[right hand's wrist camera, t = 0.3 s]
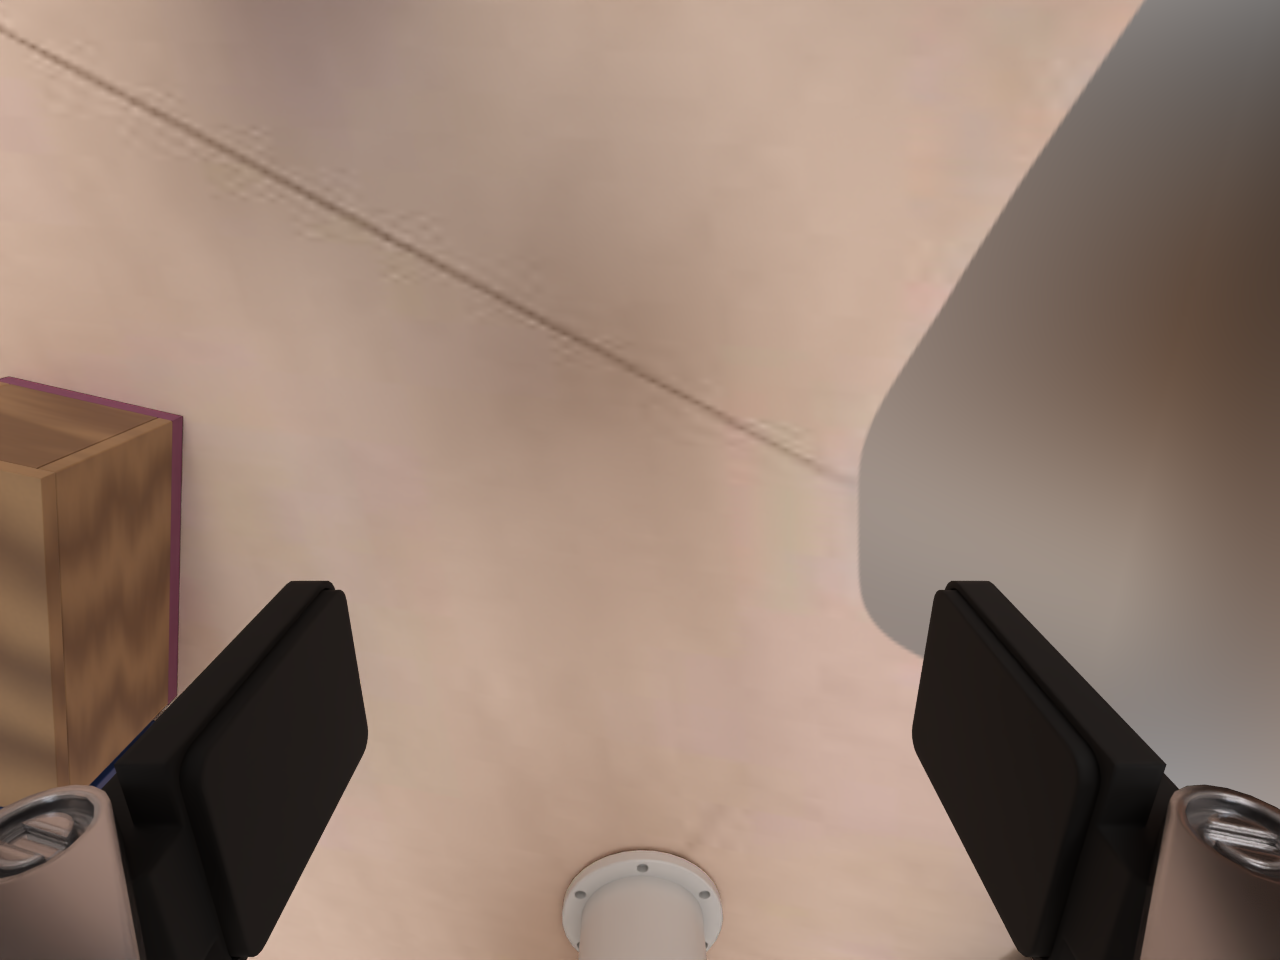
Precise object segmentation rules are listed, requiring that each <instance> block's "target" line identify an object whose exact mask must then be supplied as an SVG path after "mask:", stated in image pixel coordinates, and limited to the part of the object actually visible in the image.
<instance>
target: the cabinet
mask: <svg viewBox="0 0 1280 960" xmlns="http://www.w3.org/2000/svg"><path fill="white" fill-rule="evenodd" d="M182 426H183V416H179V415H175V414H170V413H166V412H162V411H157V410H153V409H149V408H144V407H140V406H135V405H131V404H127V403H122V402H118V401H113V400H109V399H105V398H100V397H96V396H92V395H87V394H83V393H78V392H74V391H70V390H65V389H61V388H57V387H52V386H48V385H43V384H39V383H35V382H30V381H26V380H22V379H17V378H13V377H5V378H1V379H0V806H1V807H5V806H8V805H10V804H12V803H14V802H16V801H18V800H21V799H23V798H25V797H27V796H29V795H33V794H36V793H39V792H42V791H45V790H49V789H52V788H57V787H63V786H70V785H87V786H89V785H90V784H91V783H92V782H93V781H94V780H95V779H96V778H97V777H98V776H99V775H100V774H101V773H102V772H103V770H104V769H105V768H106V767H107V766H108V765H109V764H110V763H111V762H112V761H113V760H114V759H115V758H116V757H117V756H118V755H119V754H120V753H121V752H122V751H123V750H124V749H125V748H126V747H127V746H128V745H129V744H130V743H131V742H132V740H133V739H134V738H135V737H136V736H137V735H138V734H139V733H140V732H141V731H142V730H143V729H144V728H145V727H146V726H147V725H148V724H149V723H150V722H151V721H152V720H153V719H154V718H155V717H156V716H157V715H158V714H159V713H160V712H161V710H162V709H163V708H164V707H165V706H166V705H168V704H169V703H170V702H171V701H172V700H173V699H174V698H175V697H176V696H177V663H178V615H179V568H180V521H181V474H182Z"/></svg>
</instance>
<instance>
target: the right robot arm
mask: <svg viewBox="0 0 1280 960" xmlns="http://www.w3.org/2000/svg"><path fill="white" fill-rule="evenodd" d="M367 739H368V726H367V720H366V714H365V708H364V702H363V696H362V690H361V684H360V678H359V672H358V666H357V660H356V654H355V648H354V642H353V636H352V630H351V624H350V618H349V612H348V606H347V600H346V596H345V594H344V592H343V591H341V590H335V588H334V586H333V584H332V583H331V582H329V581H291V582H289V583H288V584H286V585H285V586H284V588H283V589H282V590H281V591H280V592H279V593H278V594H277V595H276V596H275V597H274V598H273V599H272V600H271V601H270V602H269V603H268V604H267V605H266V606H265V607H264V608H263V609H262V610H261V611H260V613H259V614H258V615H257V616H256V617H255V618H254V619H253V620H252V621H251V622H250V623H249V624H248V625H247V626H246V627H245V628H244V629H243V630H242V631H241V632H240V633H239V634H238V635H237V636H236V638H235V639H234V640H233V641H232V642H231V643H230V644H229V645H228V646H227V647H226V648H225V649H224V650H223V651H222V652H221V653H220V654H219V655H218V656H217V657H216V658H215V659H214V660H213V661H212V663H211V664H210V665H209V666H208V667H207V668H206V669H205V670H204V671H203V672H202V673H201V674H200V675H199V676H198V677H197V678H196V679H195V680H194V681H193V682H192V683H191V684H190V685H189V686H188V688H187V689H186V690H185V691H184V692H183V693H182V694H181V695H180V696H179V697H178V698H177V699H176V700H175V701H174V702H173V703H172V704H171V705H170V706H169V707H168V708H167V709H166V710H165V711H164V713H163V714H162V715H161V716H160V717H159V718H158V719H157V720H156V721H155V722H154V723H153V724H152V725H151V726H150V727H149V728H148V729H147V730H146V731H145V732H144V733H143V734H142V735H141V736H140V738H139V739H138V740H137V741H136V742H135V743H134V744H133V745H132V746H131V747H130V748H129V749H128V750H127V751H126V752H125V753H124V754H123V755H122V756H121V757H120V758H119V759H118V760H117V762H116V763H115V764H114V767H115V770H116V774H115V775H114V776H113V777H112V778H111V779H110V780H109V781H108V782H107V783H106V784H105V785H104V787H103V788H102V789H99V788H96V787H94V786H87V785H70V786H63V787H57V788H52V789H49V790H45V791H42V792H39V793H36V794H33V795H29V796H27V797H25V798H23V799H21V800H18V801H16V802H14V803H12V804H10V805H8V806H5V807H3V808H2V809H0V960H247V958H248V957H254V956H257V955H258V954H259V953H260V952H261V951H262V949H263V948H264V946H265V944H266V942H267V940H268V938H269V937H270V935H271V933H272V931H273V929H274V927H275V925H276V923H277V921H278V919H279V917H280V915H281V913H282V911H283V909H284V907H285V905H286V903H287V902H288V900H289V898H290V896H291V894H292V892H293V890H294V888H295V886H296V884H297V882H298V880H299V878H300V876H301V874H302V872H303V870H304V868H305V867H306V865H307V863H308V861H309V859H310V857H311V855H312V853H313V851H314V849H315V847H316V845H317V843H318V841H319V839H320V837H321V835H322V833H323V832H324V830H325V828H326V826H327V824H328V822H329V820H330V818H331V816H332V814H333V812H334V810H335V808H336V806H337V804H338V802H339V800H340V798H341V797H342V795H343V793H344V791H345V789H346V787H347V785H348V783H349V781H350V779H351V777H352V775H353V773H354V771H355V769H356V767H357V765H358V763H359V762H360V760H361V758H362V756H363V754H364V751H365V749H366V745H367ZM912 739H913V745H914V749H915V751H916V754H917V756H918V758H919V760H920V762H921V763H922V765H923V767H924V769H925V771H926V773H927V775H928V777H929V779H930V781H931V783H932V785H933V787H934V789H935V791H936V793H937V795H938V797H939V798H940V800H941V802H942V804H943V806H944V808H945V810H946V812H947V814H948V816H949V818H950V820H951V822H952V824H953V826H954V828H955V830H956V832H957V833H958V835H959V837H960V839H961V841H962V843H963V845H964V847H965V849H966V851H967V853H968V855H969V857H970V859H971V861H972V863H973V865H974V867H975V868H976V870H977V872H978V874H979V876H980V878H981V880H982V882H983V884H984V886H985V888H986V890H987V892H988V894H989V896H990V898H991V900H992V902H993V903H994V905H995V907H996V909H997V911H998V913H999V915H1000V917H1001V919H1002V921H1003V923H1004V925H1005V927H1006V929H1007V931H1008V933H1009V935H1010V937H1011V938H1012V940H1013V942H1014V944H1015V946H1016V948H1017V949H1018V951H1019V952H1020V953H1021V954H1022V955H1023V956H1026V957H1032V958H1033V960H1280V809H1278V808H1277V807H1275V806H1272V805H1270V804H1268V803H1266V802H1264V801H1262V800H1259V799H1257V798H1255V797H1253V796H1251V795H1247V794H1244V793H1241V792H1238V791H1235V790H1231V789H1228V788H1223V787H1217V786H1210V785H1193V786H1186V787H1184V788H1181V789H1178V788H1177V787H1176V785H1175V784H1174V783H1173V782H1172V781H1171V780H1170V779H1169V778H1168V777H1167V776H1166V775H1165V774H1164V770H1165V767H1166V764H1165V763H1164V762H1163V760H1162V759H1161V758H1160V757H1159V756H1158V755H1157V754H1156V753H1155V752H1154V751H1153V750H1152V749H1151V748H1150V747H1149V746H1148V745H1147V744H1146V743H1145V742H1144V741H1143V740H1142V739H1141V738H1140V737H1139V736H1138V734H1137V733H1136V732H1135V731H1134V730H1133V729H1132V728H1131V727H1130V726H1129V725H1128V724H1127V723H1126V722H1125V721H1124V720H1123V719H1122V718H1121V717H1120V716H1119V715H1118V714H1117V713H1116V711H1114V709H1113V708H1112V707H1111V706H1110V705H1109V704H1108V703H1107V702H1106V701H1105V700H1104V699H1103V698H1102V697H1101V696H1100V695H1099V694H1098V693H1097V692H1096V691H1095V690H1094V689H1093V688H1092V686H1090V684H1089V683H1088V682H1087V681H1086V680H1085V679H1084V678H1083V677H1082V676H1081V675H1080V674H1079V673H1078V672H1077V671H1076V670H1075V669H1074V668H1073V667H1072V666H1071V665H1070V664H1069V663H1068V662H1067V660H1066V659H1065V658H1064V657H1063V656H1062V655H1061V654H1060V653H1059V652H1058V651H1057V650H1056V649H1055V648H1054V647H1053V646H1052V645H1051V644H1050V643H1049V642H1048V641H1047V640H1046V639H1045V638H1044V636H1043V635H1042V634H1041V633H1040V632H1039V631H1038V630H1037V629H1036V628H1035V627H1034V626H1033V625H1032V624H1031V623H1030V622H1029V621H1028V620H1027V619H1026V618H1025V617H1024V616H1023V615H1022V614H1021V613H1020V612H1019V610H1018V609H1017V608H1016V607H1015V606H1014V605H1013V604H1012V603H1011V602H1010V601H1009V600H1008V599H1007V598H1006V597H1005V596H1004V595H1003V594H1002V593H1001V592H1000V591H999V590H998V589H997V588H996V586H995V585H994V584H992V583H991V582H989V581H951V582H949V583H948V584H947V586H946V588H945V590H939V591H937V592H936V594H935V596H934V601H933V606H932V612H931V618H930V624H929V630H928V636H927V643H926V648H925V654H924V660H923V666H922V672H921V678H920V684H919V690H918V696H917V702H916V708H915V714H914V720H913V726H912ZM722 922H723V914H722V903H721V898H720V894H719V892H718V890H717V888H716V886H715V883H714V882H713V881H712V880H711V878H710V877H709V876H708V875H707V874H706V873H705V872H704V871H703V870H701V869H700V868H699V867H698V866H696V865H695V864H693V863H691V862H689V861H687V860H685V859H684V858H681V857H678V856H675V855H672V854H669V853H664V852H659V851H649V850H635V851H626V852H620V853H617V854H613V855H609V856H606V857H604V858H602V859H600V860H597V861H595V862H593V863H592V864H590V865H589V866H587V867H586V868H584V869H583V870H582V871H581V872H580V873H579V874H578V875H577V876H576V877H575V878H574V879H573V881H572V882H571V884H570V885H569V887H568V888H567V891H566V894H565V897H564V901H563V909H562V925H563V928H564V931H565V934H566V936H567V938H568V940H569V941H570V943H571V945H572V946H573V947H574V948H575V949H576V950H577V951H578V952H579V957H578V960H707V957H706V952H707V951H708V950H709V949H710V948H711V946H712V945H713V944H714V942H715V941H716V939H717V937H718V935H719V933H720V931H721V927H722Z"/></svg>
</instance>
